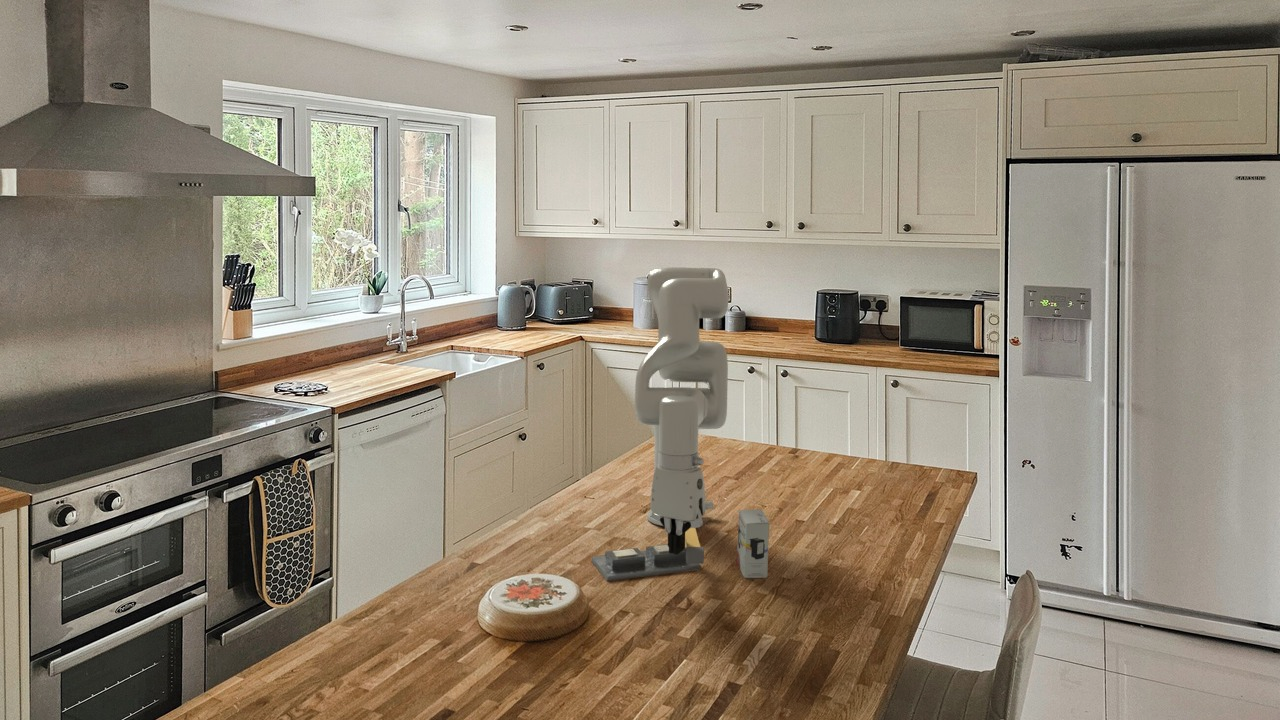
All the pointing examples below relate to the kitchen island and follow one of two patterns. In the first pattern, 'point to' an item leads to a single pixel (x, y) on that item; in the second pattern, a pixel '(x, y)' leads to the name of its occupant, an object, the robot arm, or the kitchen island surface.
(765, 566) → the ink box
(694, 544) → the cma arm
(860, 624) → the kitchen island surface
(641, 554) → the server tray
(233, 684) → the kitchen island surface
